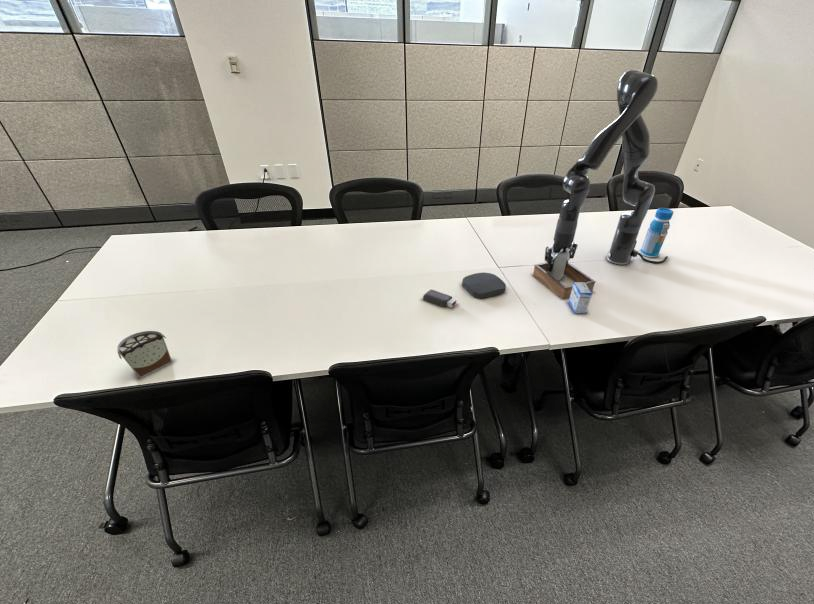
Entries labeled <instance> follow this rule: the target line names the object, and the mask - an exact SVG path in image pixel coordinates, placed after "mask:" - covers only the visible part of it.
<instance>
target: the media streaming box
mask: <svg viewBox="0 0 814 604" xmlns="http://www.w3.org/2000/svg"><path fill="white" fill-rule="evenodd" d="M461 286H462V287H463V288H464V289H465V290H466V291H467V292H468V293H469V294H470V295H472V296H473V297H475V298H477V299H478V298H479V299H485V298H490V297H494V296H498V295H502V294H504V293H505V292H506V288H507V285H506V283H505V281H503V279H501V278H500V277H499V276H497V275H496V274H494V273H490V272H477V273H476V272H475V273H472V274H469V275H466V276H464V277H463V278H462V282H461Z"/></svg>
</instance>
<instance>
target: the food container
mask: <svg viewBox="0 0 814 604" xmlns="http://www.w3.org/2000/svg"><path fill="white" fill-rule="evenodd" d="M165 339H167V337H166V336H165V335H164V334H163V333H162V332H160V331H157V330H144V331H140V332H139V331H138V332H136V333H133V334H130V335H128V336H126V337H125V338H124V339H123V338H122V340H121V341H120V342H119V343H118V345H117V347H116V348H117V350H116V351H117V355H118V358H119V359H120V360H122V359H124V360H125V362H126V363H127V364H128V366H130V368H131V369H132V371H133V372H134V373H135V374H136V375H137V376H138V378H139V379H142V378H144V377H146V376H148V375H150V374H152V373H153V372H156V371H158V370H160V369H161V368H163V367H165V366H167V365H170V364H171V363H173V360H172V356H171V354H170V351H169V349H168V346H167V344H166V341H165Z"/></svg>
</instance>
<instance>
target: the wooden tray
mask: <svg viewBox="0 0 814 604" xmlns="http://www.w3.org/2000/svg"><path fill="white" fill-rule="evenodd" d="M533 266H534V267H533V273H532V276H533V277H534V278H535V279H537V280H539V282H541V284H543V285H544V286H546V287H547V288H548V289H549V290H551V291H552V292H553V293H554V294H556V295H557V296H558V297H559V298H561V299H562V300H564V299H568V298H569V299H570V295H571V292H572V288H573V285H574V284H571V285H567V286H565V284H563V283H561V282H560V280H558V281H557V280H556V279H555V278H554V277H552V276H551V275H550V274H548V270H547V266H548V262H546V261H545V262H541V263H536V264H534V265H533ZM564 274H565V275H566V276H568V277H569V278H570V279H571V280H573V281H575V282H584V283H585V284H586V285H587V287H588V288H589V290H590V291H591V292H592V293H593V290H594V288H595V284H596V282H597V281H596V280H595V279H594V278H592V277H590V276H589V275H588V274H586V273H584V272H583V271H582V270H580V268H577V267H575V266H574V265H573V264H571V263H570V262H569V261H568V265H567V267H566V269H565V270H564Z"/></svg>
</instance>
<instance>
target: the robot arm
mask: <svg viewBox="0 0 814 604" xmlns="http://www.w3.org/2000/svg"><path fill="white" fill-rule="evenodd" d="M658 81H659V80H658V78H657V77H656V76H655V75H653V74H650V73H647V72H645V71H641V70H637V69H630V70H627V71H625V72H624V73H623V74H622V76H621V77H620V79H619V81H618V84H617V88H616V101H617V106H618V112H619V116H618V117H617V118H616V119H615V120H614V121H613V122H612V123H610V124H609V125H608V126H607V127H605V128H604V129H602V130H601V131H600V132H599V133H598V134H597V135H596V136H595V137H594V138H593V139H592V141H591V142H590V144H589V145H588V147H587V148H586V150H585V151H584V153H583V155H582V156H581V158H579V159H578V160H577V161H576V162H575V163H574V164H573V166H571V167H570V168H569V170H568V171H567V172H566V174H565V175H564V177H563V180H562V188H563V190H564V191H566V192H567V193H569V194H570V195H569V199H565V200H564V201H563V202H562V204H561V207H560V211H559V214H558V215H559V216H558V219H557V223H556V227H555V230H554V236H553V245H552V246H545V252H544V261H545V263H546V262H548V266H547V270H548V271H549V272H552V269H553V265H554V264H553V263H554V261H555V259H557V256H558V255H559V253H562V252H568V258H567V262H566V266H565V269H566V267H567V265H568V262H569V261H570V260H571V259H572V260H573V259H574V258H575V254H576V251H577V249H578V243H576V242H574V239H575V236H576V233H577V228H578V227H577V226H578V223H579V222H578V221H579V216H580V213H581V208H582V206H583V205H584V203H585V201H586V198H587V196H588V195H589V192H590V189H591V180H590V179H589V177H588V176H586V175H588V173H589V172H595V171H597V170H599V168H600V167H601V165H602V164H603V162H604V161H605V159H606V158H607V156H608V155H609V153H610V152H611V151H612V149H613V148H614V147H615V145H616V143H617V142H618V141H619V140H620V139H621V141H622V142H621V147H622V150H621V151H622V163H623V180H622V201H624V203H626V204H628V205H630V206H633V207H635V208H634V210H633V211H624V212H622V213H621V214H620V216H619V220H618V223H617V226H616V229H615V233H614V235H613V238H612V242H611V245H610V248H609V250H608V251H607V257H606V260H607V261H608V262H610V263H612V264H615V265H620V266H623V265H627V264H629V263H630V262H631V259H632V258H637V257H638V256H639V257H640V258H641V260H642V261H643V262H646V263H650V264H662V263H665V262H666V261H667V259H668V258H669V256H668V255H666V256H665V257H664V258H663V260H658V261H657V260H651V259H650V260H649V259H647V258H644V255H642V254H641V253H640V252H639V251H638V250H636V249H635V248H636V245H637V243H638V241H637V238H638V235H639V232H640V230H641V227H642V224H643V222H644V220H645V218H646V216H647V214H648V212H649V208H650V206H651V203H652V201H653V199H654V196H655V193H656V187H655V185H654V184H652V183H650V182H647V181H643V180H640V178H639V170H640V169H641V168H642V166H643V165H644V164H645V163H646V161H647V160H648V158H649V156H650V153H651V134H650V130H649V128H648V126H647V123H646V122H645V119H644V117H643V115H642V114H643V112H645V110H646V109H647V107H648V106H650V103H651V102H652V101H653V99H654V98H655V96H656V94H657V91H658V87H659V82H658ZM553 252H554V253H556V256H554V255H553V254H552V253H553ZM552 257H553V259H552Z"/></svg>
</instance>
